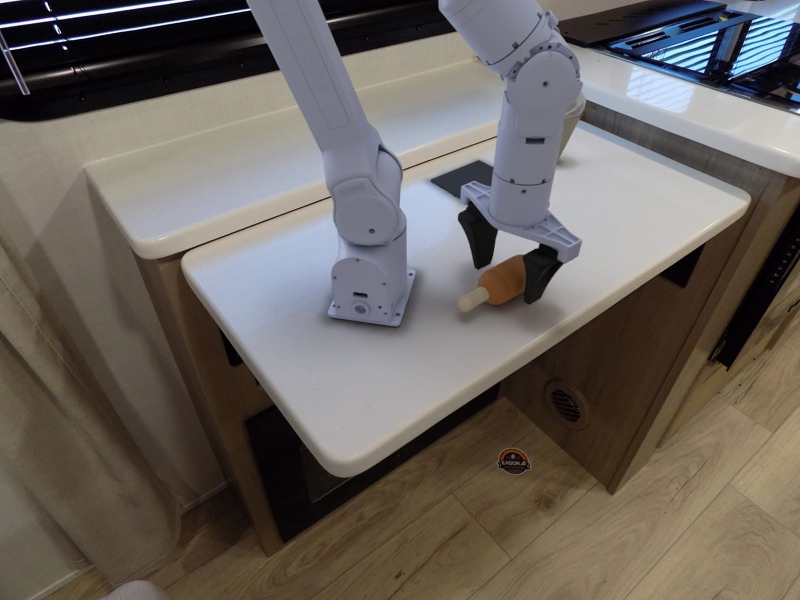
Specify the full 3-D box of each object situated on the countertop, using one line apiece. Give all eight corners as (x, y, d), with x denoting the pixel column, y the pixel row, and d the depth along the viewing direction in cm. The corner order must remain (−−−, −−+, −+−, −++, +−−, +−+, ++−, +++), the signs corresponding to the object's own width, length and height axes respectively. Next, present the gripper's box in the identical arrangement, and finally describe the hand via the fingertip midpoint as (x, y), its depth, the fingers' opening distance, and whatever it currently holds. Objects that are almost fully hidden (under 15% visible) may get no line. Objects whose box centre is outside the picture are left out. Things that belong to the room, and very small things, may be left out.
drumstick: (468, 331, 56) (475, 305, 53) (444, 308, 58) (448, 282, 55) (541, 288, 61) (551, 262, 58) (516, 268, 63) (524, 242, 60)
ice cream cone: (575, 170, 81) (598, 68, 71) (542, 170, 81) (560, 68, 72) (568, 155, 85) (589, 57, 75) (536, 155, 85) (553, 57, 75)
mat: (466, 203, 74) (467, 200, 74) (430, 181, 79) (430, 179, 79) (516, 181, 79) (516, 178, 79) (478, 162, 84) (479, 159, 84)
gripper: (614, 187, 47) (582, 300, 56) (498, 134, 56) (486, 240, 65) (563, 213, 44) (537, 329, 53) (448, 153, 53) (443, 261, 62)
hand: (506, 282), depth 59 cm, fingers open, 7 cm apart
